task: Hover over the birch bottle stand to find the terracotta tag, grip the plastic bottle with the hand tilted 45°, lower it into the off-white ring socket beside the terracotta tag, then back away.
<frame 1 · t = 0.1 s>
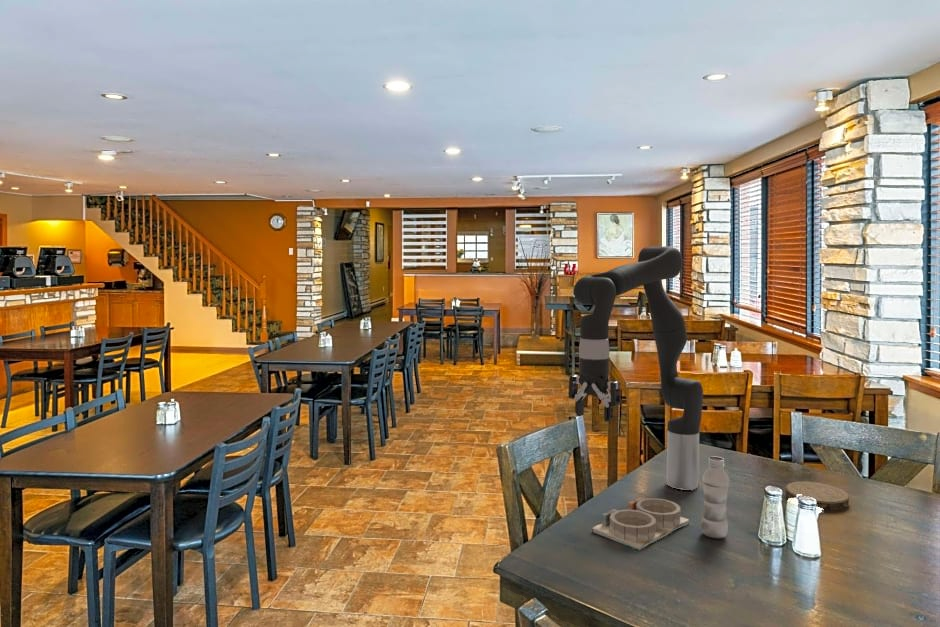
hand: (593, 418, 164), 29 cm above the table, tool pointing down, fingers open, 8 cm apart
brown round disc: (816, 501, 184), on the table
bottle stand: (641, 528, 166), on the table
plastic bottle: (714, 536, 161), on the table
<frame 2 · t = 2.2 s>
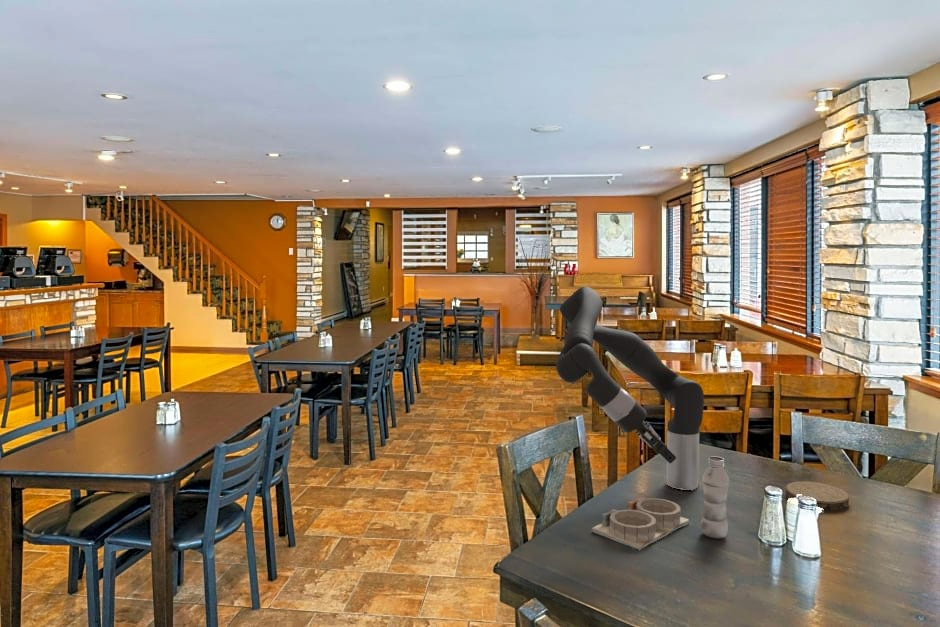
hand: (668, 455, 160), 21 cm above the table, tool tilted 45°, fingers open, 8 cm apart
nothing on the table moved.
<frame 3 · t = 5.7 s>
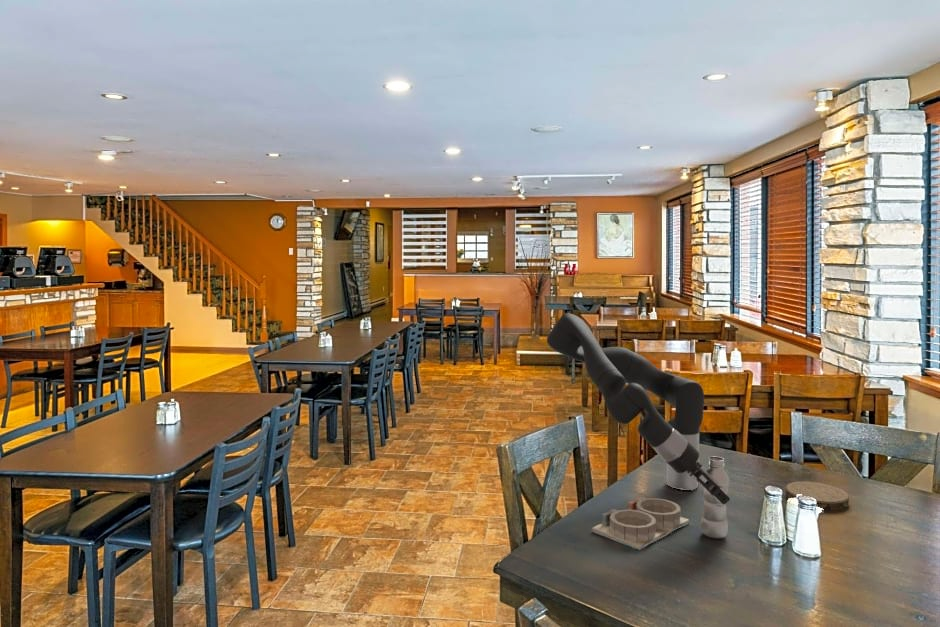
hand: (721, 496, 160), 10 cm above the table, tool tilted 45°, fingers closed on plastic bottle, 6 cm apart
plastic bottle: (714, 536, 161), on the table, touching gripper
everything else where it was.
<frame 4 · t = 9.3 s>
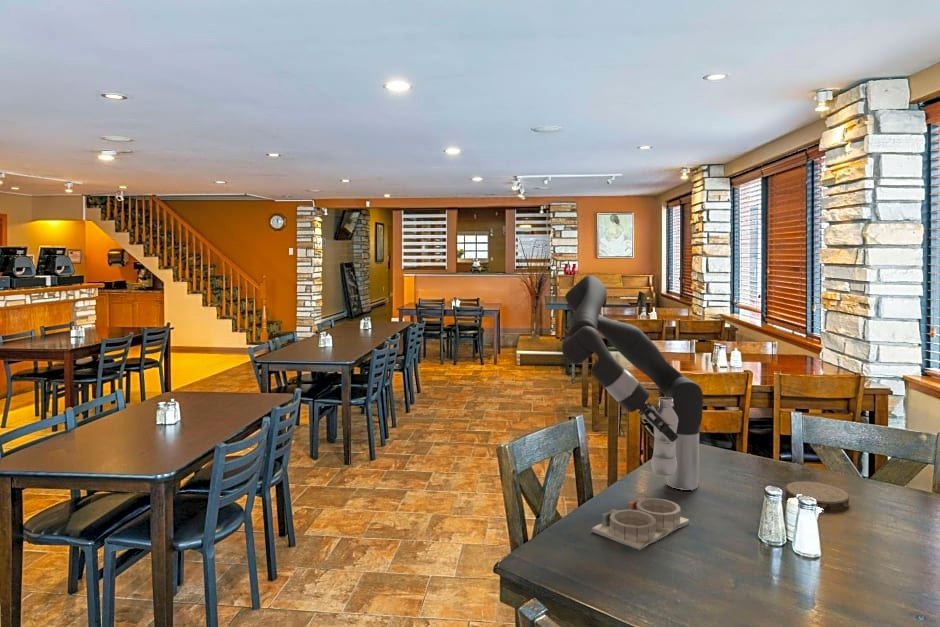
hand: (671, 435, 166), 24 cm above the table, tool tilted 45°, fingers closed on plastic bottle, 6 cm apart
plastic bottle: (663, 474, 167), point 13 cm above the table, touching gripper
everything else where it was.
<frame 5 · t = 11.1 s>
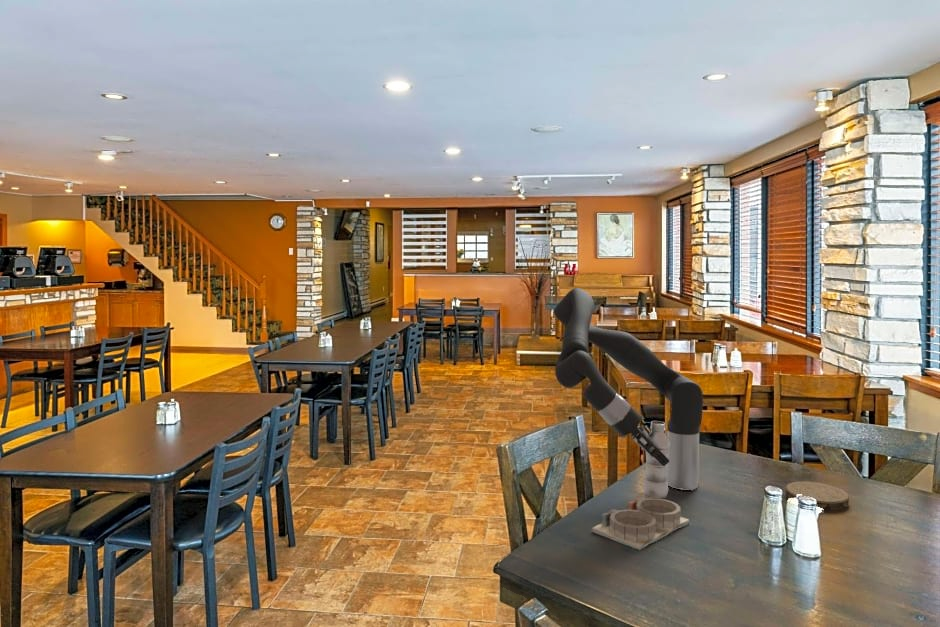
hand: (663, 459, 167), 17 cm above the table, tool tilted 45°, fingers closed on plastic bottle, 6 cm apart
plastic bottle: (655, 497, 168), point 7 cm above the table, touching gripper
everything else where it was.
when the fingers open (13 cm above the table, at t = 12.7 s): plastic bottle drops 2 cm, resting on bottle stand.
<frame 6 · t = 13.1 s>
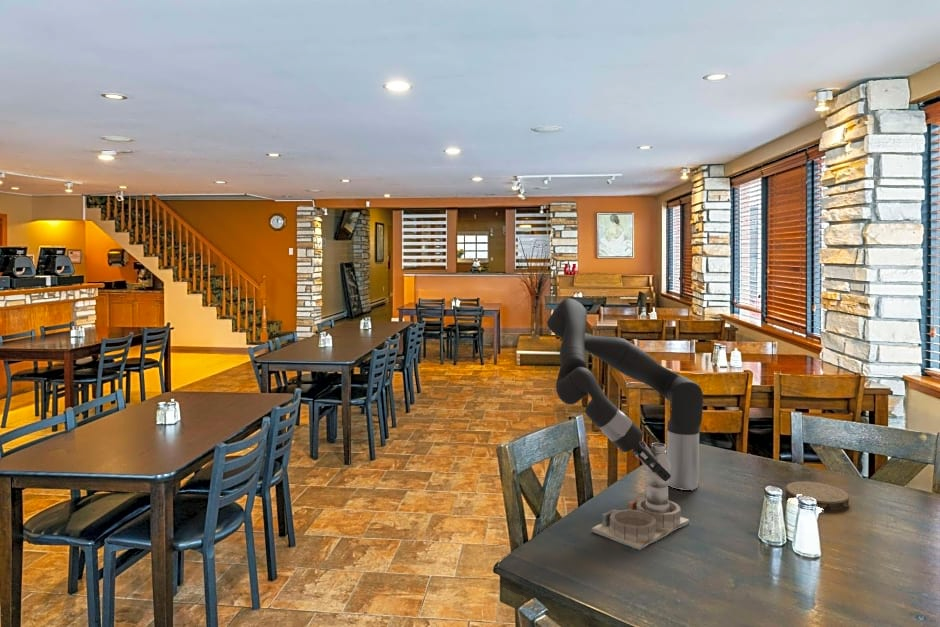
hand: (664, 473, 168), 14 cm above the table, tool tilted 45°, fingers open, 8 cm apart
plastic bottle: (656, 519, 169), point 1 cm above the table, touching bottle stand
everything else where it was.
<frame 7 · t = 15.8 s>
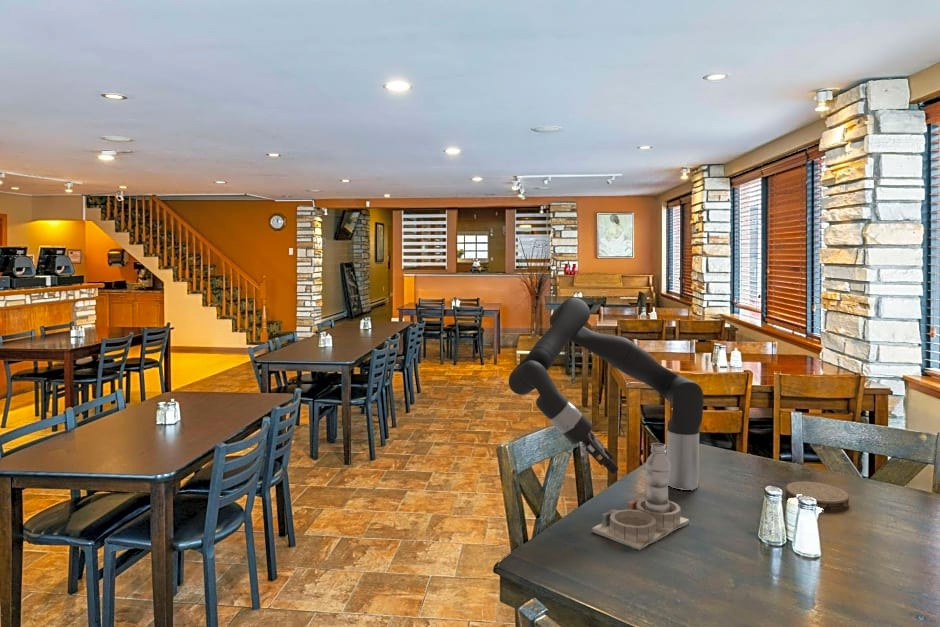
hand: (613, 465, 169), 15 cm above the table, tool tilted 45°, fingers open, 8 cm apart
nothing on the table moved.
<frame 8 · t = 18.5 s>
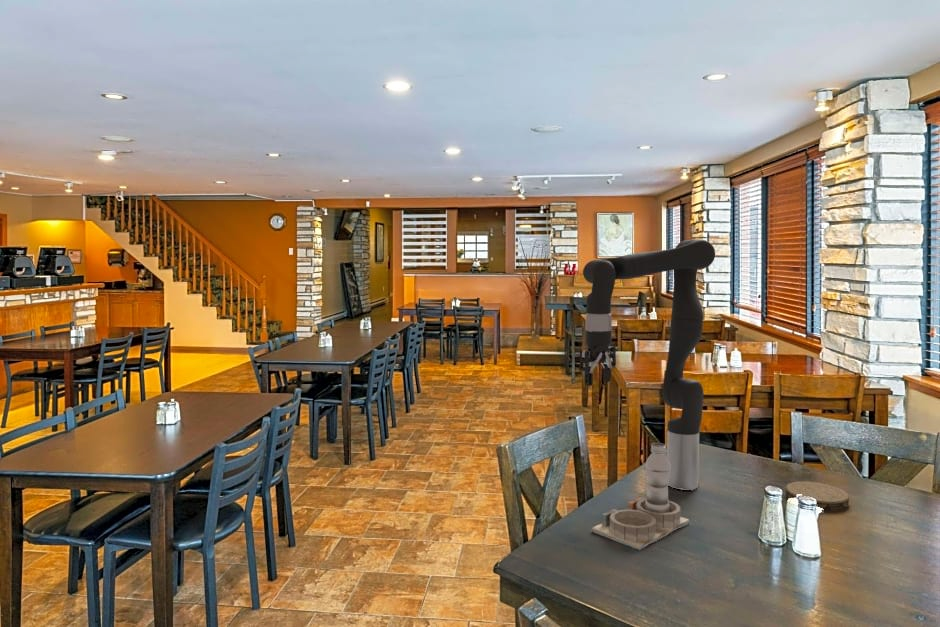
hand: (597, 383, 188), 33 cm above the table, tool pointing down, fingers open, 8 cm apart
nothing on the table moved.
at the end: plastic bottle 0.3 cm from the target spot on the bottle stand, point 1.0 cm above the bottle stand's base; plastic bottle tilted 0°; the gripper is holding nothing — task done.
